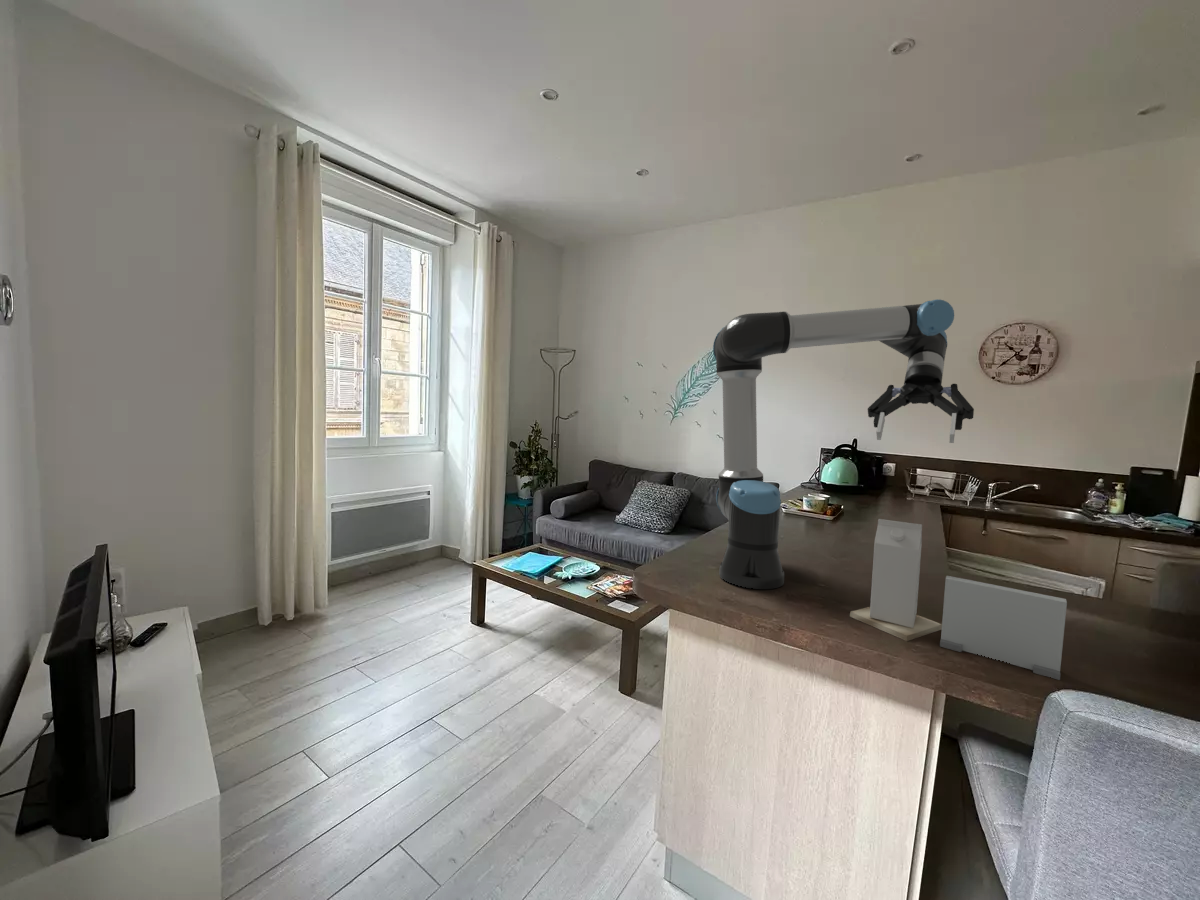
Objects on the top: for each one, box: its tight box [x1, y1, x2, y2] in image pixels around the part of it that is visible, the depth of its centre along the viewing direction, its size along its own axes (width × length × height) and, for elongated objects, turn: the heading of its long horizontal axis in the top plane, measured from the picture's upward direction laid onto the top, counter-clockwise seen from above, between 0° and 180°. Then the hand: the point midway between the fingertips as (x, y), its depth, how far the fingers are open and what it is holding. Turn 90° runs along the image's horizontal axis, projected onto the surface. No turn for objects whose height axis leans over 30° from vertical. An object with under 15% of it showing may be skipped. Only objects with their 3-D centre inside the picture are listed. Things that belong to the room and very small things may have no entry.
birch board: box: [849, 606, 942, 642], centre depth 90 cm, size 11×11×1 cm
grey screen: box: [939, 575, 1068, 681], centre depth 77 cm, size 15×4×12 cm, turn 48°
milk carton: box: [869, 518, 923, 628], centre depth 90 cm, size 7×7×19 cm
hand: (913, 437), depth 103 cm, fingers open, 13 cm apart
